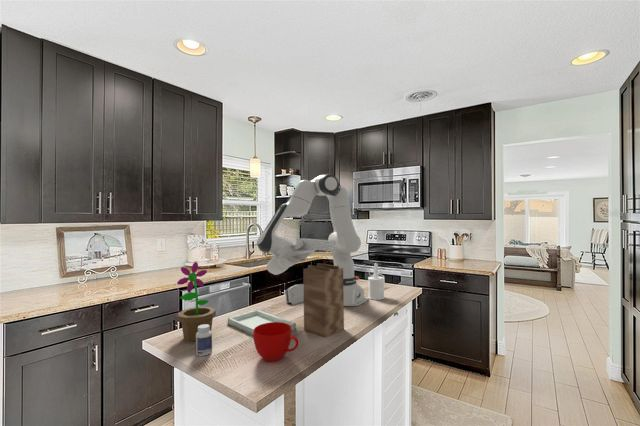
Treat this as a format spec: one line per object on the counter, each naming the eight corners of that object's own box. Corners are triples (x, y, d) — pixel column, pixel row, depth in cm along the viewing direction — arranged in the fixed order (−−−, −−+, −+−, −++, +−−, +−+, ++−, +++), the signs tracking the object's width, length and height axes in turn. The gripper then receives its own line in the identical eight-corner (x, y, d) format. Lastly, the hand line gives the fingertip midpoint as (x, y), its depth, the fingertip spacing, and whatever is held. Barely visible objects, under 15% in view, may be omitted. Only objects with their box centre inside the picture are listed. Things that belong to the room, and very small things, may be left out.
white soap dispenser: (374, 300, 174) (374, 265, 174) (364, 297, 182) (364, 262, 182) (389, 298, 179) (389, 263, 179) (379, 294, 188) (378, 261, 187)
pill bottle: (214, 352, 113) (214, 325, 113) (200, 358, 109) (200, 330, 109) (207, 348, 116) (206, 322, 116) (193, 353, 112) (192, 326, 112)
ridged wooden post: (323, 322, 142) (322, 262, 142) (343, 328, 134) (343, 265, 133) (304, 329, 133) (303, 266, 133) (324, 337, 125) (323, 269, 125)
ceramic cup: (286, 373, 98) (286, 341, 98) (245, 361, 106) (245, 331, 106) (308, 356, 109) (308, 327, 109) (269, 346, 117) (269, 319, 117)
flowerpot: (206, 327, 137) (205, 259, 137) (222, 336, 127) (221, 262, 127) (172, 337, 127) (171, 263, 127) (186, 348, 117) (185, 267, 117)
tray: (257, 315, 153) (257, 309, 153) (295, 329, 134) (295, 323, 134) (227, 323, 141) (227, 318, 141) (265, 341, 122) (265, 334, 122)
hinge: (292, 305, 169) (287, 286, 171) (286, 306, 172) (282, 288, 174) (314, 298, 181) (309, 281, 183) (308, 299, 184) (304, 282, 186)
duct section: (302, 246, 145) (302, 238, 145) (335, 250, 131) (335, 240, 131) (296, 247, 142) (296, 238, 142) (329, 251, 128) (329, 241, 128)
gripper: (270, 251, 141) (287, 237, 133) (303, 247, 156) (320, 234, 148) (274, 264, 139) (292, 251, 131) (307, 259, 154) (325, 246, 146)
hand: (307, 242), depth 140 cm, fingers closed on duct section, 4 cm apart
